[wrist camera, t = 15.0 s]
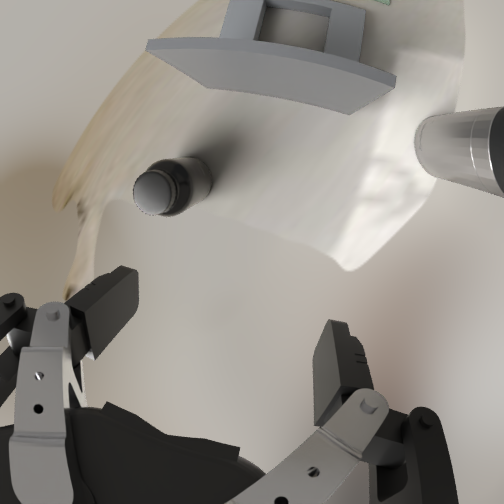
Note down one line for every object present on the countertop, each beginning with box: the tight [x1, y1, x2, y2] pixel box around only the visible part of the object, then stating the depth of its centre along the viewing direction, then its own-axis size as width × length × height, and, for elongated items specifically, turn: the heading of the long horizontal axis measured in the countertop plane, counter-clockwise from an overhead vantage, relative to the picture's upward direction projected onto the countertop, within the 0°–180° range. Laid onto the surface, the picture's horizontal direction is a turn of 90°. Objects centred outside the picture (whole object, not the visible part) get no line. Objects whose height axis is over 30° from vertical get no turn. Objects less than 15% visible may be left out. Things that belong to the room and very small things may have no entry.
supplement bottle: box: [133, 157, 212, 217], centre depth 32 cm, size 7×7×12 cm
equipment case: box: [145, 0, 396, 115], centre depth 20 cm, size 18×17×19 cm
